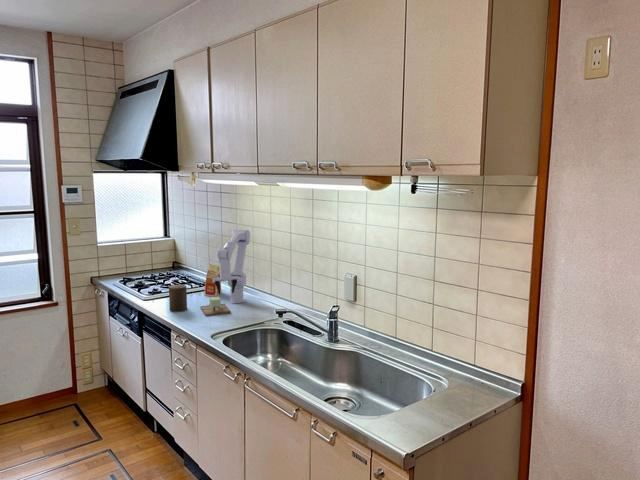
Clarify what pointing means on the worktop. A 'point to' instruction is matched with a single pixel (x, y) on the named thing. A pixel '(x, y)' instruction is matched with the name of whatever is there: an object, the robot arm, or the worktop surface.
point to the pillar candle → (177, 298)
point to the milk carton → (209, 285)
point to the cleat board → (209, 312)
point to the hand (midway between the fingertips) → (226, 293)
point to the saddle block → (215, 303)
